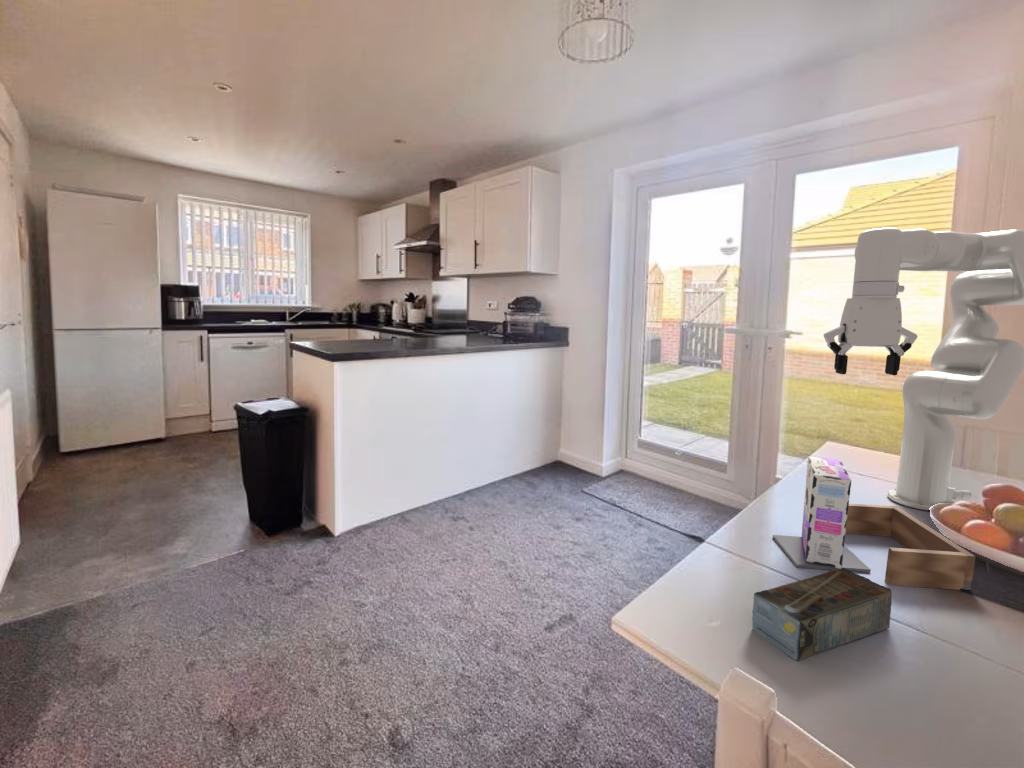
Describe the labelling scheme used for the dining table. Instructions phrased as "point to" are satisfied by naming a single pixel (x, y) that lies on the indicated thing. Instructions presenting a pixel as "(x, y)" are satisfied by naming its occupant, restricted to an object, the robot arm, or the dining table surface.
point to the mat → (797, 556)
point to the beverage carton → (821, 612)
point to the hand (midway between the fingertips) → (865, 374)
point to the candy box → (825, 511)
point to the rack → (913, 548)
